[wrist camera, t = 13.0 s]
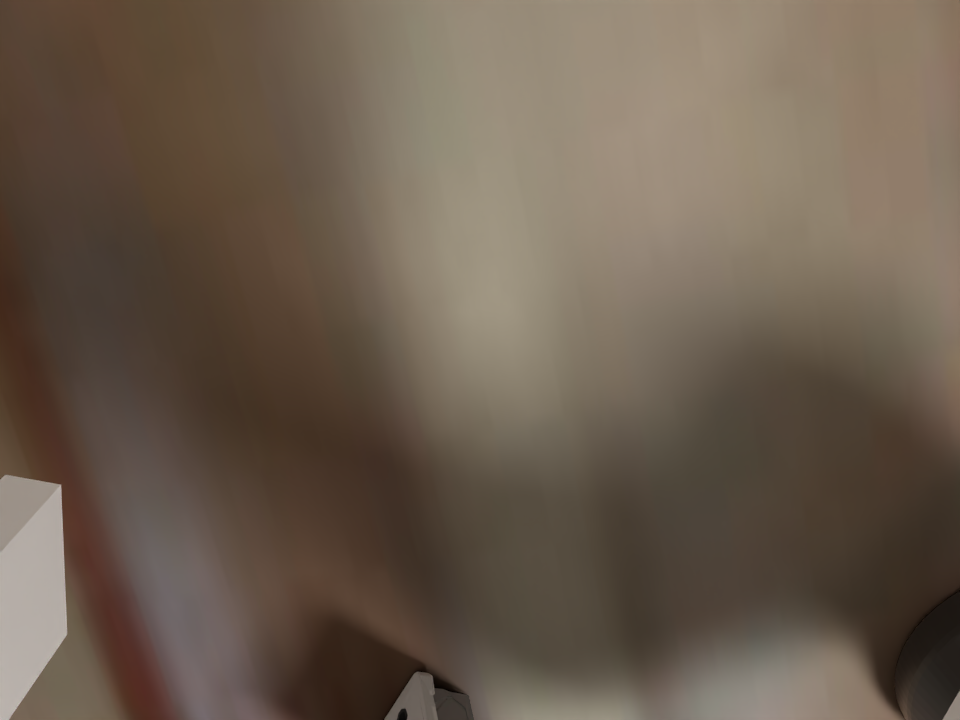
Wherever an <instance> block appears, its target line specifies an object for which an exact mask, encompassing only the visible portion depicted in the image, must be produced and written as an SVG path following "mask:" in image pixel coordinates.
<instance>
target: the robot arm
mask: <svg viewBox="0 0 960 720" xmlns="http://www.w3.org/2000/svg"><path fill="white" fill-rule="evenodd" d="M66 635H67V618H66V594H65V570H64V546H63V522H62V498H61V485H60V484H54V483H49V482H43V481H37V480H32V479H26V478H21V477H15V476H10V475H5V476H4V477H3V478H1V479H0V720H9V719H10V717H11V716H12V714H13V713H14V711H15V710H16V708H17V707H18V705H19V704H20V702H21V701H22V700H23V698H24V697H25V695H26V694H27V692H28V691H29V689H30V688H31V686H32V685H33V683H34V682H35V681H36V679H37V678H38V676H39V675H40V673H41V672H42V670H43V669H44V667H45V666H46V664H47V663H48V662H49V660H50V659H51V657H52V656H53V654H54V653H55V651H56V650H57V648H58V647H59V646H60V644H61V643H62V641H63V640H64V638H65V637H66ZM895 693H896V698H897V702H898V705H899V707H900V710H901V712H902V714H903V716H904V718H905V720H960V591H959V592H957V593H956V594H954V595H953V596H951V597H950V598H948V599H947V600H946V601H944V602H943V603H941V604H940V605H939V606H938V607H936V608H935V609H934V610H933V611H932V612H931V613H930V614H929V615H928V616H926V617H925V619H924V620H923V621H922V622H921V623H920V624H919V625H918V626H917V628H916V629H915V630H914V631H913V633H912V634H911V636H910V637H909V639H908V640H907V642H906V644H905V646H904V648H903V650H902V652H901V654H900V657H899V660H898V663H897V667H896V672H895Z"/></svg>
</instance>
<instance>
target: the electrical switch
mask: <svg viewBox="0 0 960 720" xmlns="http://www.w3.org/2000/svg"><path fill="white" fill-rule="evenodd" d="M384 720H474V718H473V714H472V709H471V705H470V700H469V696H468V695H465V694H459V693H453V692H449V691H447V690H444V689H438V688H434V683H433V676H432V675H430V674H429V673H425V672H416V673H414V674H413V676H412V677H411V679H410V680H409V682H408V684H407V685H406V687H405V688H404V690H403V691H402V693H401V694H400V696H399V697H398V699H397V701H396V702H395V704H394V705H393V707H392V708H391V710H390V711H389V713H388V714H387V716H386V717H385V719H384Z"/></svg>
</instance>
